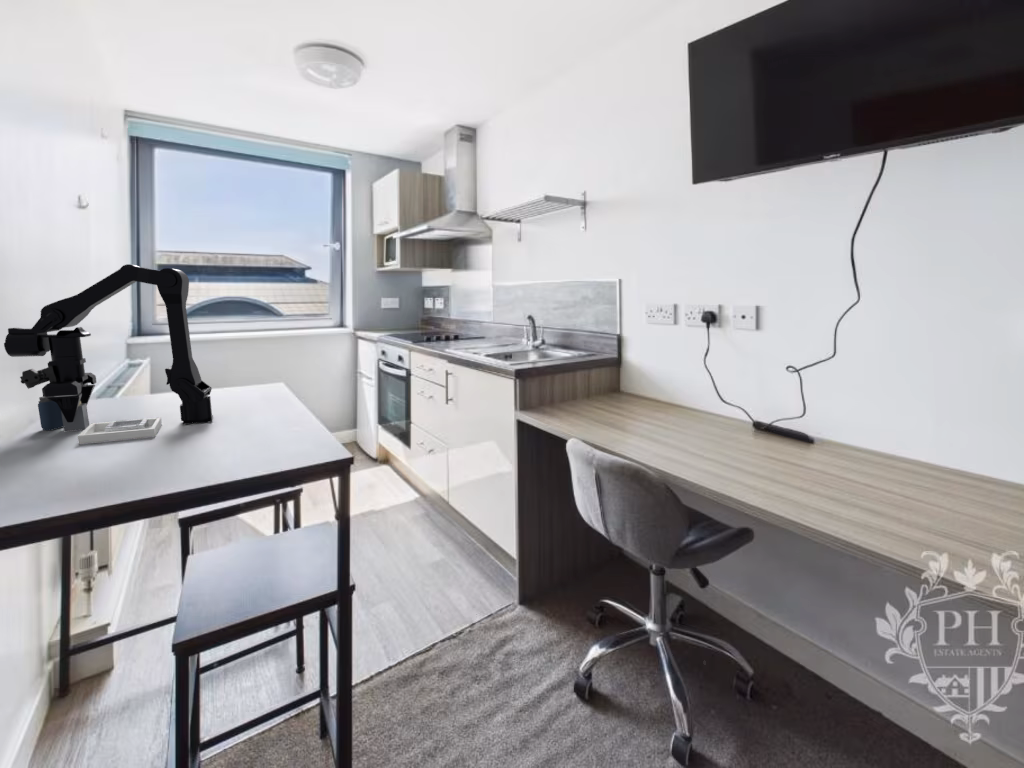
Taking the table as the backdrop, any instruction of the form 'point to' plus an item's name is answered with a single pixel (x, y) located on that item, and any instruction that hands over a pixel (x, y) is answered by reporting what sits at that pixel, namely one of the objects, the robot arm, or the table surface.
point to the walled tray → (97, 432)
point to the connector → (77, 419)
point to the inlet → (127, 425)
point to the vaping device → (49, 414)
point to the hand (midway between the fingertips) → (75, 418)
